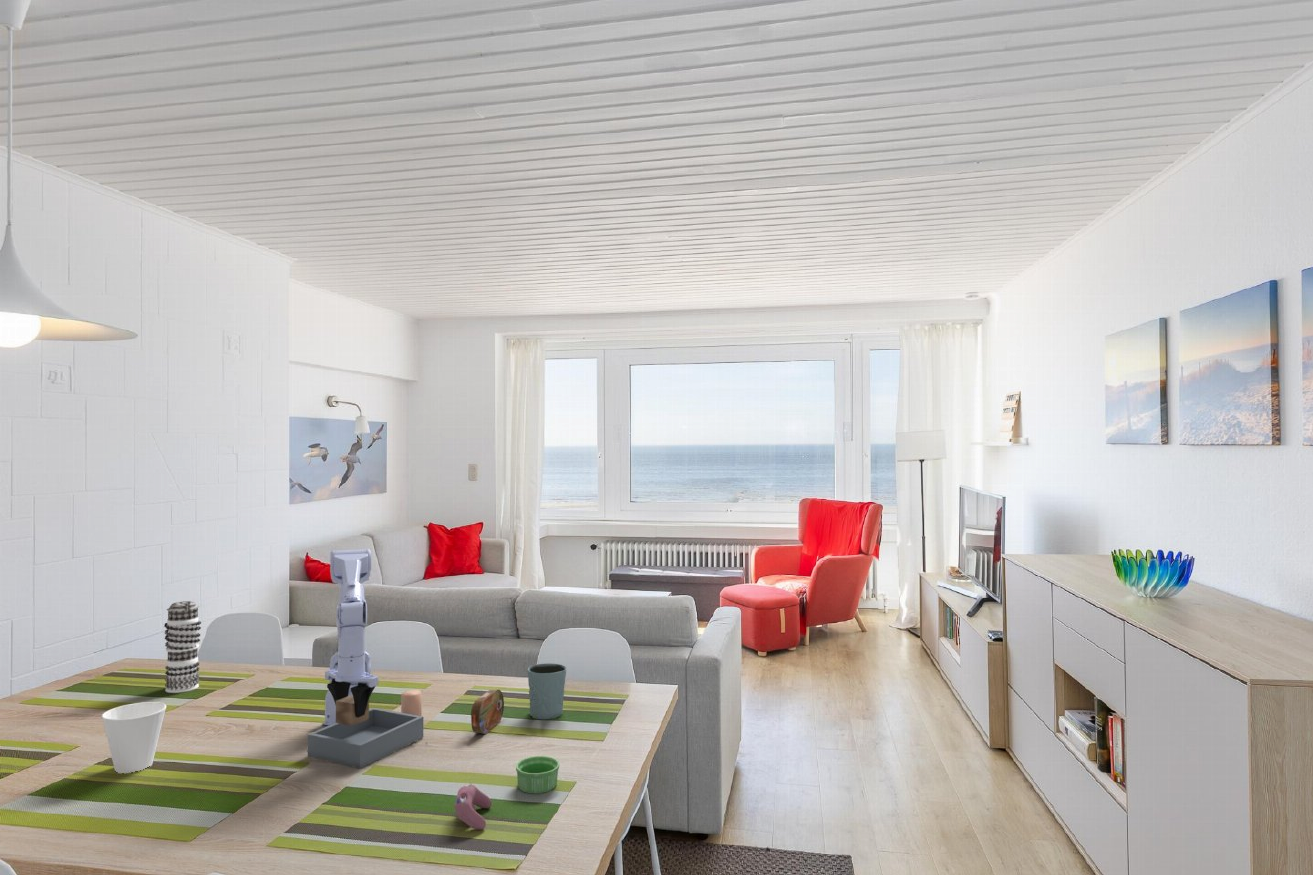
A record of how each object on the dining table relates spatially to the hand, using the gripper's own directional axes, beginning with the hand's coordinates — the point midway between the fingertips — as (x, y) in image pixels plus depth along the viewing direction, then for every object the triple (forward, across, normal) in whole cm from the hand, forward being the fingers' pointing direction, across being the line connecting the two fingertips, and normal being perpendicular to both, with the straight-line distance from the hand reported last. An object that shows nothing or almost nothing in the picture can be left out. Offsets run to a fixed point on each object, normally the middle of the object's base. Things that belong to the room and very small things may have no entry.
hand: (351, 714), depth 176 cm
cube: (+2, 0, 0) cm, 2 cm away
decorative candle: (+9, -83, +16) cm, 85 cm away
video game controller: (+10, +45, -13) cm, 48 cm away
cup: (+9, -38, -25) cm, 46 cm away
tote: (+9, 0, +5) cm, 10 cm away
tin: (+9, +18, +27) cm, 34 cm away
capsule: (+9, -3, +23) cm, 25 cm away
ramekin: (+10, +48, +4) cm, 49 cm away
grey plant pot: (+9, +26, +42) cm, 50 cm away
